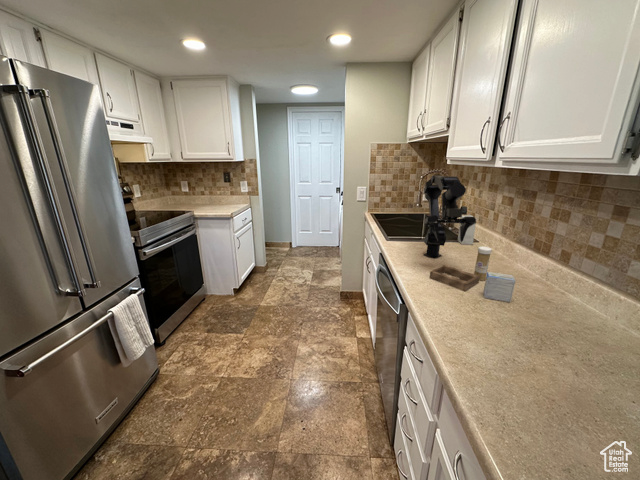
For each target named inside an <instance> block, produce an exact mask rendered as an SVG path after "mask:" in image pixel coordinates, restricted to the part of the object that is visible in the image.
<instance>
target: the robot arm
mask: <svg viewBox="0 0 640 480" xmlns="http://www.w3.org/2000/svg"><path fill="white" fill-rule="evenodd" d="M442 192H443V193H442ZM466 192H467V189H466V187H465V186H464V184H462V183H461V180H460V179H459V177H458V176H457V175H455V176H444V175H442V174H439V175H438V174H435V175H432V176H431V177H430V179H429V180H427V181H426V182H425V184H424V186H423V194H424V197H425V198H424V199H426V201H428V211H429V213H428V214H429V215H428V216H427V217H426V218H424V225H425V226H427V228H429V229H428V230H427V232H426V234H425V236H424V240H423V241H424V242H423V243H424V244H425V245H426V247H427V248H426V253H425V252H424V253H423V256H425V257H428V258H433V259H438V258H440V257H442V254H441V253H440V248H441V247H442V246H443V247H444V246H445V244H446V240H447V238H448V237H447V234H446V232H445V231H446V229H445V227H444V226H443V225H441V224H460V223H461V225H462V226H461V227H460V240H461V242H462V241H463V239H464V236H465V234H466V231H467V229H468V228H469V227H470V226H472V225H474V224H475V223H476V224H477V217H475V216H473V217H464V218H462V219H460V217H462V215H463V216H467V214H468V206H460V208H459V205H458V203H457V202H458V200H460V199H461V198H462V197H463V196H464V195H465V194H466ZM440 197H441V209H440V207H439V198H440ZM440 211H441V217H440Z"/></svg>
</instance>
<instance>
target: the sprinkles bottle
mask: <svg viewBox="0 0 640 480" xmlns="http://www.w3.org/2000/svg"><path fill="white" fill-rule="evenodd" d="M492 250H493V249H492V248H491V247H489V246H483V245H481V246H478V248H477V256H476V261H475V266H474V272H473V274H474V275H478V276H480V279H479V282H480V281H482V282H483V281H485V280H486V275H487V272H488V269H489V263H490V258H491V254H492Z"/></svg>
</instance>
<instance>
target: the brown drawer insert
mask: <svg viewBox="0 0 640 480" xmlns="http://www.w3.org/2000/svg"><path fill="white" fill-rule="evenodd" d="M429 279H431V280H433V281H436V282H438V283H441V284H445V285H447V286H450V287H452V288H455V289H458V290H460V291H464V292H467V291H469V290H470V289H471V288H474V287H475V286H477V285H478V284H479V283H480V280H479V279H480V276H478V275H474V273H471V272H468V271H465V270H461V269H458V268H455V267H452V266H448V265H445V264H444V265H443V264H442V265H441V266H439V267H437V268H435V269H432V270H431V271H429Z"/></svg>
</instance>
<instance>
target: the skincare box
mask: <svg viewBox="0 0 640 480" xmlns="http://www.w3.org/2000/svg"><path fill="white" fill-rule="evenodd" d="M464 217H474V216H473V215H462V217H459V219H462V218H464ZM476 224H477V222H476V223H475V224H474V225H472V226H470V227H469V228H468V229H467V231H466V234H465V236H464V239H463V241H462V242H461V240H460V227H461V226H462V225H461V223H458V225H459V227H458V236H457V242H459V243H460V244H461V245H465V246H467V245H468V246H469V245H470V246H473V245H474V240H475V238H474V237H475V231H476Z"/></svg>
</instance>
